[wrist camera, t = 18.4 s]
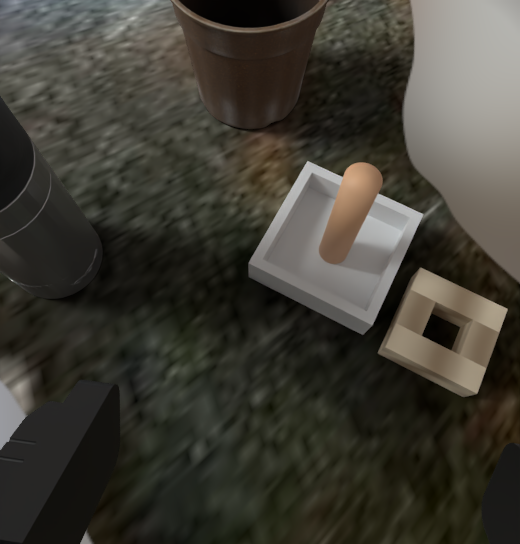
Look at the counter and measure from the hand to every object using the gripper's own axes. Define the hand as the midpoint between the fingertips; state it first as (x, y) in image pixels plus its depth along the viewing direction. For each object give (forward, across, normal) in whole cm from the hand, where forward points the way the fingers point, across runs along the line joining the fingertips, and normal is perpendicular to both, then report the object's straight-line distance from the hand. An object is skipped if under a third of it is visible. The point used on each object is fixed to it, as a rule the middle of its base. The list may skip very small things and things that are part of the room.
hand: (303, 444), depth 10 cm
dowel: (+40, -5, +11) cm, 41 cm away
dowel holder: (+35, -16, +17) cm, 42 cm away
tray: (+40, -5, +12) cm, 42 cm away
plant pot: (+55, +7, -3) cm, 55 cm away
